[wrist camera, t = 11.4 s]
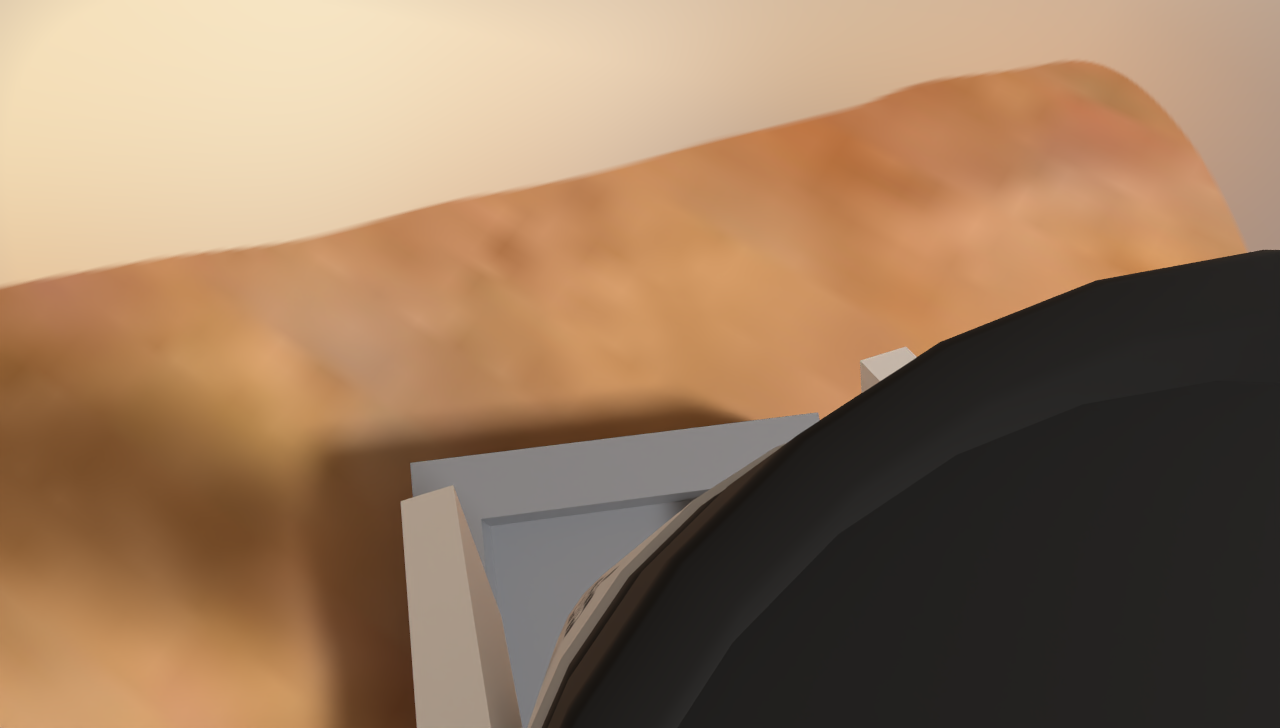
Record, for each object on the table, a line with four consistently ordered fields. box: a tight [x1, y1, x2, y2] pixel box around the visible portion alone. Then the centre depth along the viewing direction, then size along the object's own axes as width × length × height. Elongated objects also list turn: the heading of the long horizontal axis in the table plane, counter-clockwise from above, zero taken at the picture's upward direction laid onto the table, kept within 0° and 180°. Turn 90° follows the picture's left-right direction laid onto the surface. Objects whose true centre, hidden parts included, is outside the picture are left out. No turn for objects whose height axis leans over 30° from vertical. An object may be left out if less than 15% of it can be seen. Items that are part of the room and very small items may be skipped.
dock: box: [410, 413, 820, 728], centre depth 32 cm, size 14×14×4 cm
